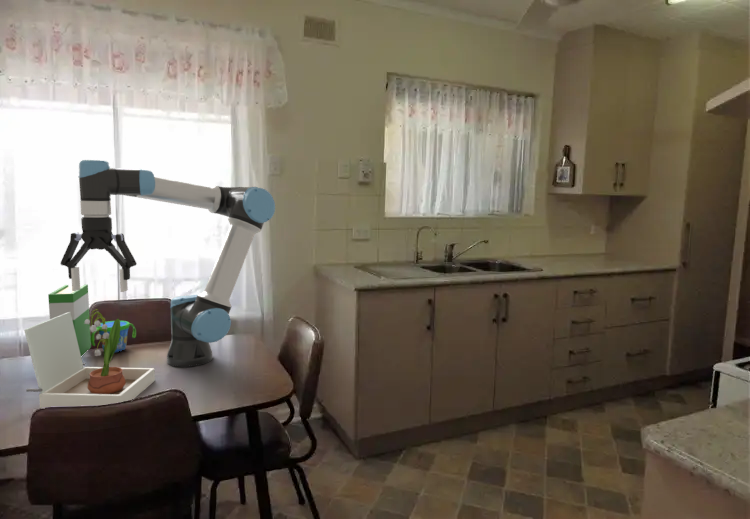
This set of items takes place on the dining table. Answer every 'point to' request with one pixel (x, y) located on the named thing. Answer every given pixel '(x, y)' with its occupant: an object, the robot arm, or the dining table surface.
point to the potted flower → (106, 360)
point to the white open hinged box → (72, 368)
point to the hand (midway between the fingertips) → (100, 290)
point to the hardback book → (73, 311)
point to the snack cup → (123, 334)
